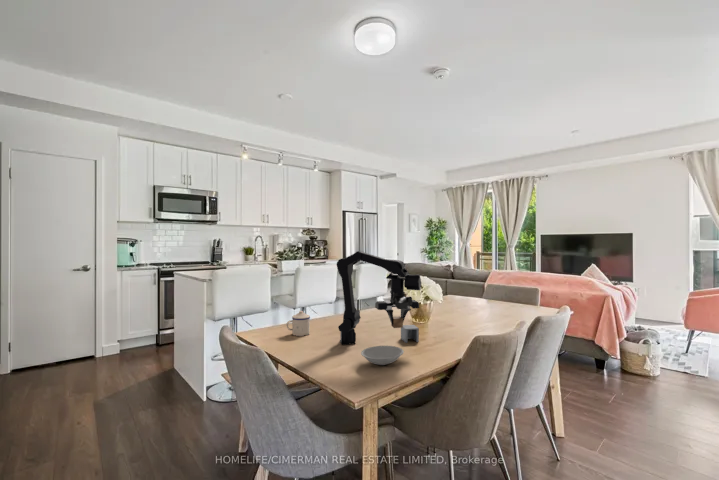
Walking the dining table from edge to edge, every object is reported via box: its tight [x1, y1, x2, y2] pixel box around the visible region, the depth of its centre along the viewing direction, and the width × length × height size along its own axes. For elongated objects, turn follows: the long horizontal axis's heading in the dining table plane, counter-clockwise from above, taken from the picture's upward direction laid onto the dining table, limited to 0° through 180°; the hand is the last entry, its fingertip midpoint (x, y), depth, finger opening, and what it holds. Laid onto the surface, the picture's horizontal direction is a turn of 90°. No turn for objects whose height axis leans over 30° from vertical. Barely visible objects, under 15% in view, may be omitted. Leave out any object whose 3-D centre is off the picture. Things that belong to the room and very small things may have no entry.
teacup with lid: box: [285, 310, 311, 337], centre depth 176 cm, size 12×9×12 cm
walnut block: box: [390, 315, 404, 329], centre depth 153 cm, size 4×4×4 cm
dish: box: [360, 345, 405, 366], centre depth 134 cm, size 18×14×5 cm
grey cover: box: [400, 324, 420, 344], centre depth 166 cm, size 7×7×6 cm
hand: (397, 324), depth 153 cm, fingers closed on walnut block, 4 cm apart
